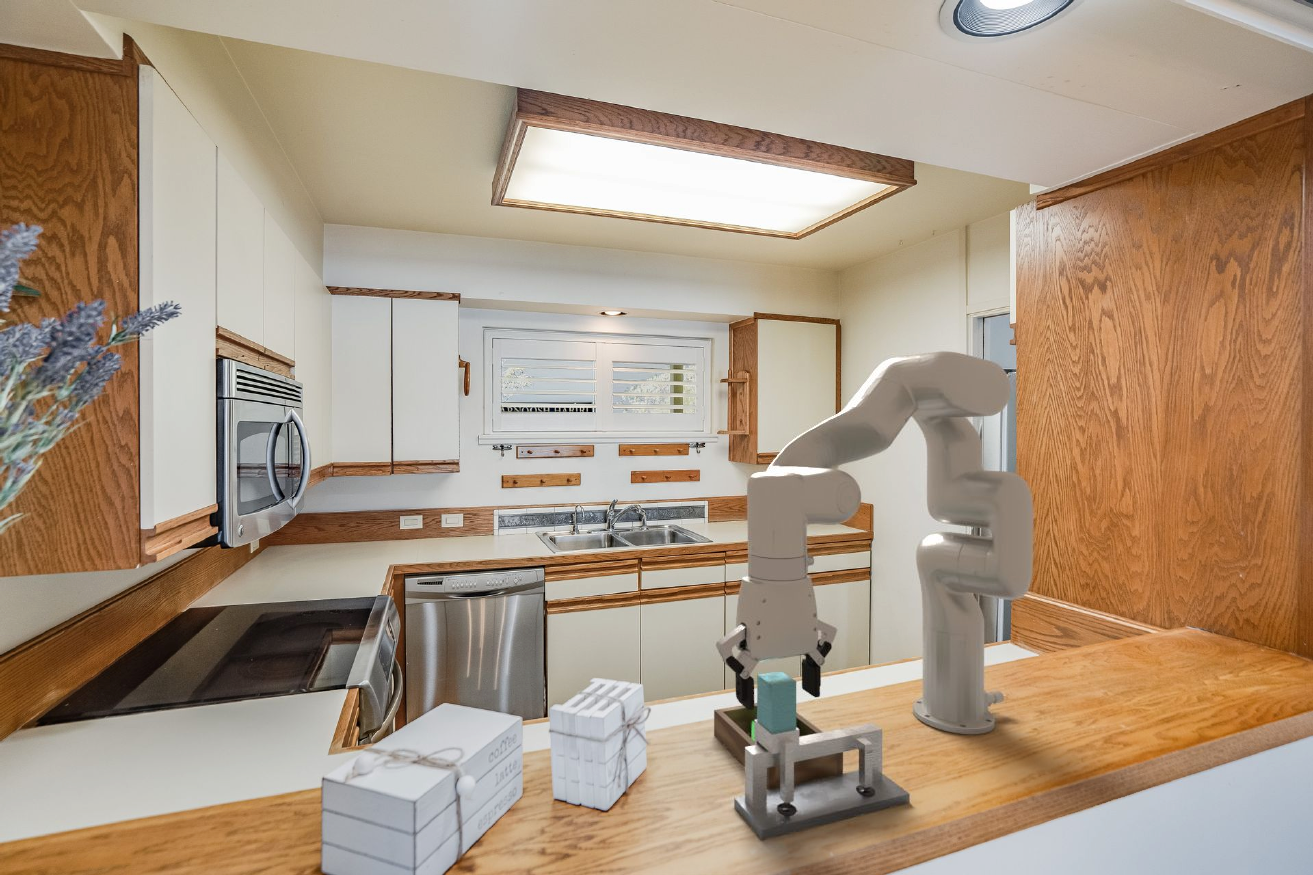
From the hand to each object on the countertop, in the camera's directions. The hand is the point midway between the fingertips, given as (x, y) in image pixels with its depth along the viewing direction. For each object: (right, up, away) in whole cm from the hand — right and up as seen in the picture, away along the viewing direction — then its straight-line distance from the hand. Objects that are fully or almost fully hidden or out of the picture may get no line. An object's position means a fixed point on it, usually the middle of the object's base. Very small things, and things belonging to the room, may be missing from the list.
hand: (779, 699), depth 79 cm
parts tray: (+2, -14, +13) cm, 19 cm away
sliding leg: (0, -12, -1) cm, 12 cm away
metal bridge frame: (+6, -14, +1) cm, 15 cm away
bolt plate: (+6, -14, 0) cm, 15 cm away
